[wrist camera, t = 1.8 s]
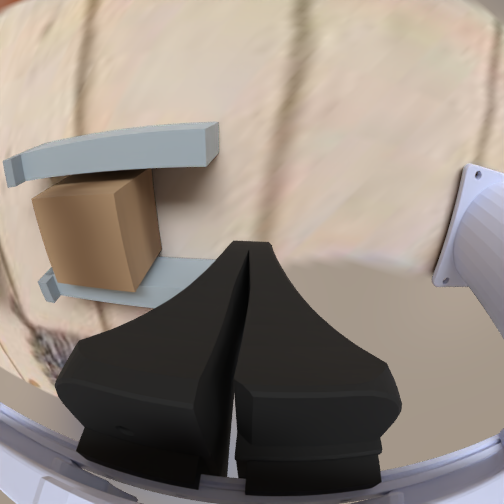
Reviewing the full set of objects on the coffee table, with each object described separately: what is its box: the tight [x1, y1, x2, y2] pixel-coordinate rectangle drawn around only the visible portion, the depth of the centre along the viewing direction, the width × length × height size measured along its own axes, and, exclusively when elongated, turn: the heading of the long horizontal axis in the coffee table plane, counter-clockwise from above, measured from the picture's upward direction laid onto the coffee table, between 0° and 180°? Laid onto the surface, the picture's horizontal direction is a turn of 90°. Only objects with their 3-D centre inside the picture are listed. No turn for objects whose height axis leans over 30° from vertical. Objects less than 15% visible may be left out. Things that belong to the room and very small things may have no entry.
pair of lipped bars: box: [3, 122, 219, 308], centre depth 13 cm, size 11×9×4 cm
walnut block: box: [32, 168, 162, 292], centre depth 13 cm, size 5×5×4 cm
